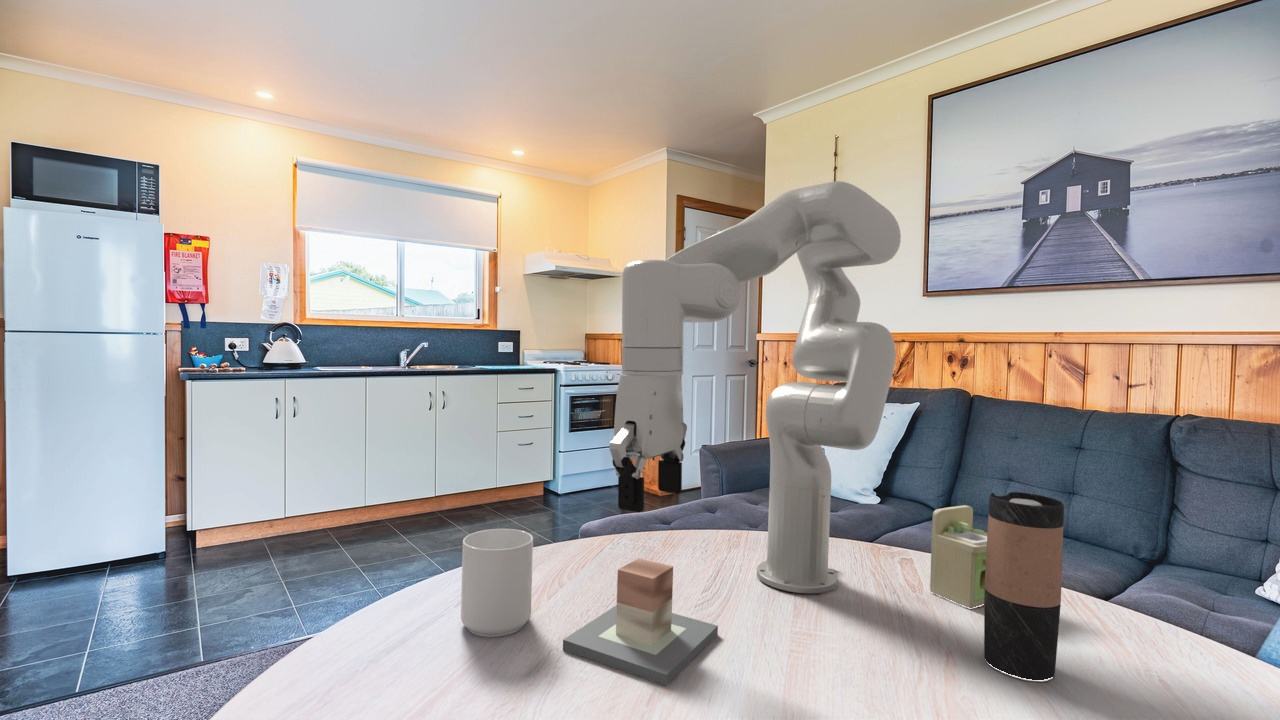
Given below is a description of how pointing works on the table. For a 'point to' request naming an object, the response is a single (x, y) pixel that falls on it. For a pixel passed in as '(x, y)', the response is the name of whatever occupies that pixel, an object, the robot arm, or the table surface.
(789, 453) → the robot arm
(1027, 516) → the travel mug
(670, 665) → the base board
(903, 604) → the table surface
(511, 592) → the mug
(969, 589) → the toy sink
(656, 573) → the brick stack
